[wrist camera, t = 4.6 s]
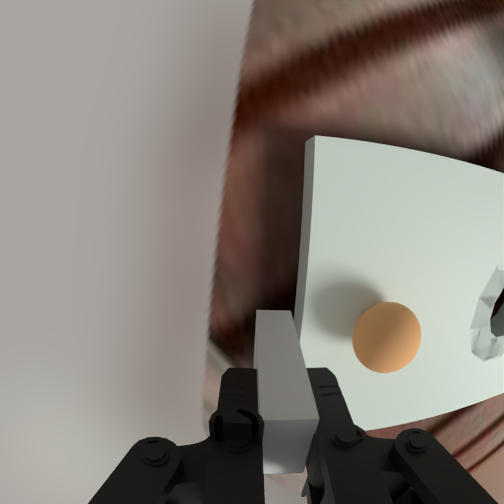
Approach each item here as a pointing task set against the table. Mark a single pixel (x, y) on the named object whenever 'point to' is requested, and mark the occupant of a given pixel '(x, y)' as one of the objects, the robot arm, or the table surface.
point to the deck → (402, 274)
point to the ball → (386, 337)
